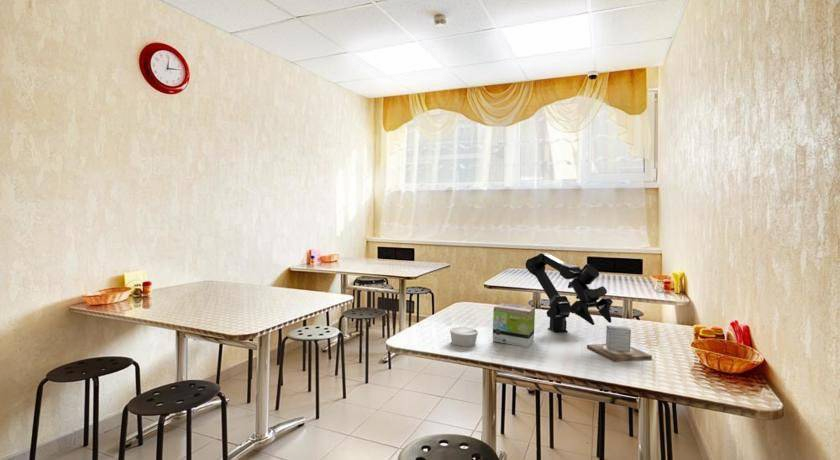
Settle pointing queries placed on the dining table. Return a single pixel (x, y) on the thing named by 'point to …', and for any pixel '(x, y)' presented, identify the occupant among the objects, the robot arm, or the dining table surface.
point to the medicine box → (618, 338)
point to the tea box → (513, 324)
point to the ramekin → (463, 336)
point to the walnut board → (619, 353)
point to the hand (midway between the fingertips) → (602, 323)
